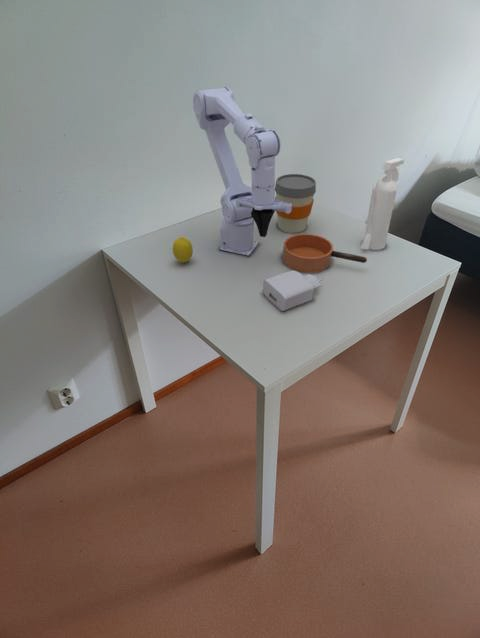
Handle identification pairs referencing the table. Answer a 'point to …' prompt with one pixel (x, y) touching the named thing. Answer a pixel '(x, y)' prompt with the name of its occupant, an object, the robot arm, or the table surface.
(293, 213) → the reusable coffee cup
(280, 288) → the charger
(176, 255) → the lemon
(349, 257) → the pan handle
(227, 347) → the table surface
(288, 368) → the table surface
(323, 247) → the pan
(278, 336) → the table surface
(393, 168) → the white spray bottle
